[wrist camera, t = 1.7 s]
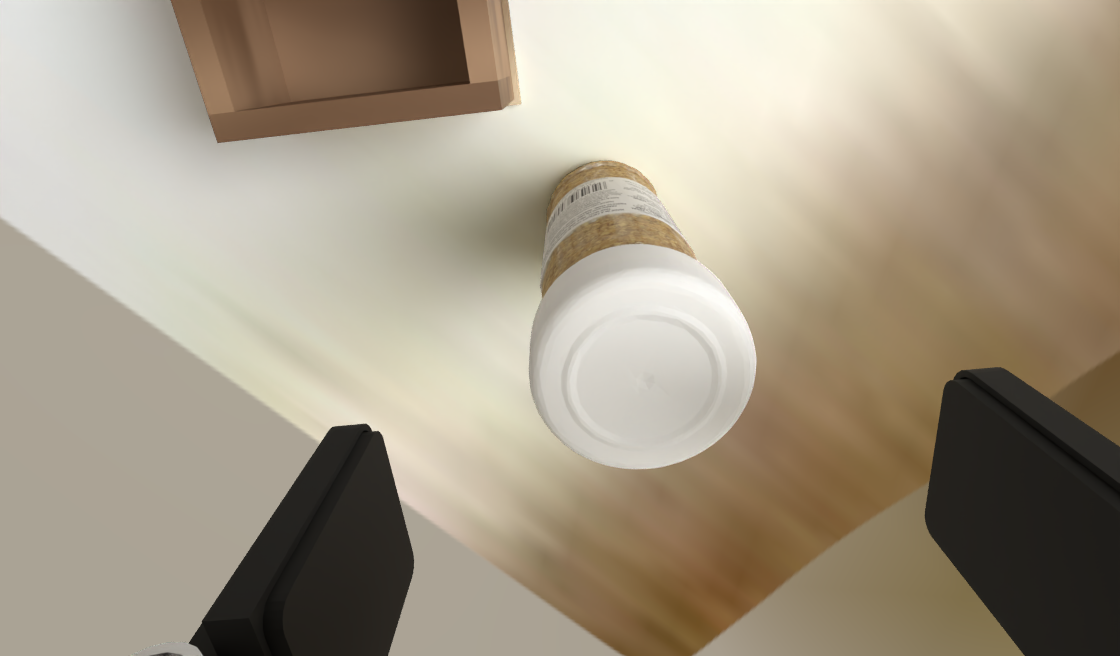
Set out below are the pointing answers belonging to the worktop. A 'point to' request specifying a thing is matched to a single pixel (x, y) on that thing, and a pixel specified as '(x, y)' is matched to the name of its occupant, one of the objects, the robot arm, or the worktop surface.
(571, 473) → the worktop surface
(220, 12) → the open wooden box
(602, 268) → the sprinkles bottle
